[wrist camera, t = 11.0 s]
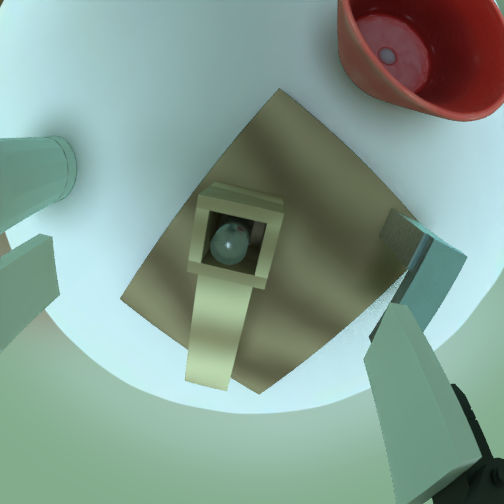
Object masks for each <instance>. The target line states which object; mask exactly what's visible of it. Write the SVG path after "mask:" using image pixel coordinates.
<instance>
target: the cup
mask: <svg viewBox="0 0 504 504" xmlns="http://www.w3.org/2000/svg"><path fill="white" fill-rule="evenodd" d="M76 173H77V165H76V158H75V155H74V152H73V150H72V148H71V146H70V145H69V143H68V142H67V141H66V140H64V139H63V138H61V137H58V136H50V137H29V138H2V139H0V234H1V233H3V232H4V231H6V230H7V229H9V228H11V227H12V226H14V225H15V224H17V223H19V222H20V221H22V220H24V219H25V218H27V217H29V216H31V215H32V214H34V213H36V212H37V211H39V210H41V209H43V208H45V207H46V206H48V205H50V204H52V203H54V202H57V201H59V200H62V199H63V198H65V197H66V196H67V195H68V194H69V193H70V191H71V190H72V188H73V186H74V183H75V179H76Z"/></svg>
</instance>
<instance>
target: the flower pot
mask: <svg viewBox="0 0 504 504" xmlns="http://www.w3.org/2000/svg"><path fill="white" fill-rule="evenodd" d="M337 32H338V52H339V57H340V61H341V63H342V66H343V68H344V70H345V72H346V73H347V75H348V76H349V77H350V79H351V80H352V81H353V82H354V83H355V84H356V85H357V86H358V87H359V88H360V89H361V90H363V91H364V92H366V93H367V94H369V95H370V96H372V97H374V98H377V99H379V100H382V101H385V102H389V103H392V104H395V105H398V106H401V107H405V108H408V109H411V110H415V111H418V112H422V113H426V114H429V115H433V116H436V117H440V118H444V119H448V120H453V121H462V122H466V121H475V120H479V119H482V118H485V117H487V116H489V115H491V114H492V113H494V112H495V111H496V110H497V109H498V108H499V107H500V106H501V105H502V104H503V103H504V17H503V15H502V13H501V12H500V10H499V8H498V7H497V5H496V3H495V2H494V0H338V19H337Z"/></svg>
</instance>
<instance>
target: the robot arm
mask: <svg viewBox="0 0 504 504" xmlns="http://www.w3.org/2000/svg"><path fill="white" fill-rule="evenodd" d="M59 295H60V293H59V287H58V280H57V274H56V266H55V259H54V250H53V240H52V237H51V236H47V235H43V234H38V235H37V236H35V237H33V238H31V239H30V240H28V241H26V242H25V243H23V244H21V245H20V246H18V247H16V248H15V249H13V250H12V251H10V252H8V253H7V254H5V255H4V256H2V257H0V353H1V352H2V351H3V350H4V349H5V348H6V347H7V345H8V344H9V343H10V342H11V341H12V340H13V339H14V338H15V337H16V336H17V335H18V334H19V333H20V332H21V331H22V330H23V329H24V328H25V327H26V326H27V325H28V324H29V323H30V322H31V321H32V320H33V319H35V318H36V317H37V315H39V313H41V312H42V311H43V310H44V309H45V308H46V307H47V306H48V305H49V304H50V303H51V302H53V301H54V300H55V299H56V298H57V297H58V296H59ZM363 360H364V363H365V367H366V370H367V374H368V378H369V381H370V385H371V389H372V393H373V396H374V401H375V404H376V408H377V413H378V417H379V421H380V425H381V429H382V434H383V438H384V442H385V447H386V452H387V457H388V462H389V466H390V471H391V477H392V482H393V488H394V493H395V499H396V504H423V503H424V502H426V501H427V500H429V499H430V498H432V499H433V504H504V459H501V458H493V456H492V454H491V451H490V449H489V446H488V444H487V442H486V439H485V437H484V435H483V432H482V430H481V428H480V425H479V424H478V421H477V420H475V418H476V417H475V415H474V413H473V410H471V406H470V404H469V402H468V400H467V398H466V396H465V394H464V393H463V392H462V391H461V390H460V389H459V388H458V387H457V386H456V384H450V383H449V380H448V379H447V377H446V375H445V373H444V371H443V369H442V367H441V365H440V363H439V361H438V359H437V357H436V355H435V353H434V352H433V350H432V348H431V346H430V344H429V342H428V341H427V339H426V337H425V335H424V334H423V332H422V330H421V328H420V327H419V325H418V323H417V321H416V320H415V318H414V316H413V315H412V313H411V311H410V309H409V308H408V306H407V305H403V304H396V303H390V302H389V305H388V307H387V310H386V312H385V314H384V317H383V319H382V321H381V323H380V326H379V328H378V330H377V332H376V334H375V337H374V339H373V341H372V343H371V345H370V347H369V349H368V351H367V353H366V355H365V357H364V359H363Z"/></svg>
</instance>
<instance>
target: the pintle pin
mask: <svg viewBox="0 0 504 504" xmlns="http://www.w3.org/2000/svg"><path fill="white" fill-rule="evenodd" d="M254 223H255V221H254V220H250V219H246V218H241V217H237V216H232V215H227V216H226V218H225V219H224V221H223V223H222V224H221V226H220V227H219V229H218V230H217V232H216V234H215V235H214V237H213V238H212V240H211V244H210V249H211V253H212V255H213V257H214V258H215V259H216V260H217V261H219V262H220V263H222V264H226V265H233V264H237V263H239V262H240V261H241V260H242V259H243V258H244V257H245V255H246V252H247V248H248V244H249V241H250V237H251V234H252V230H253V227H254Z"/></svg>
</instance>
